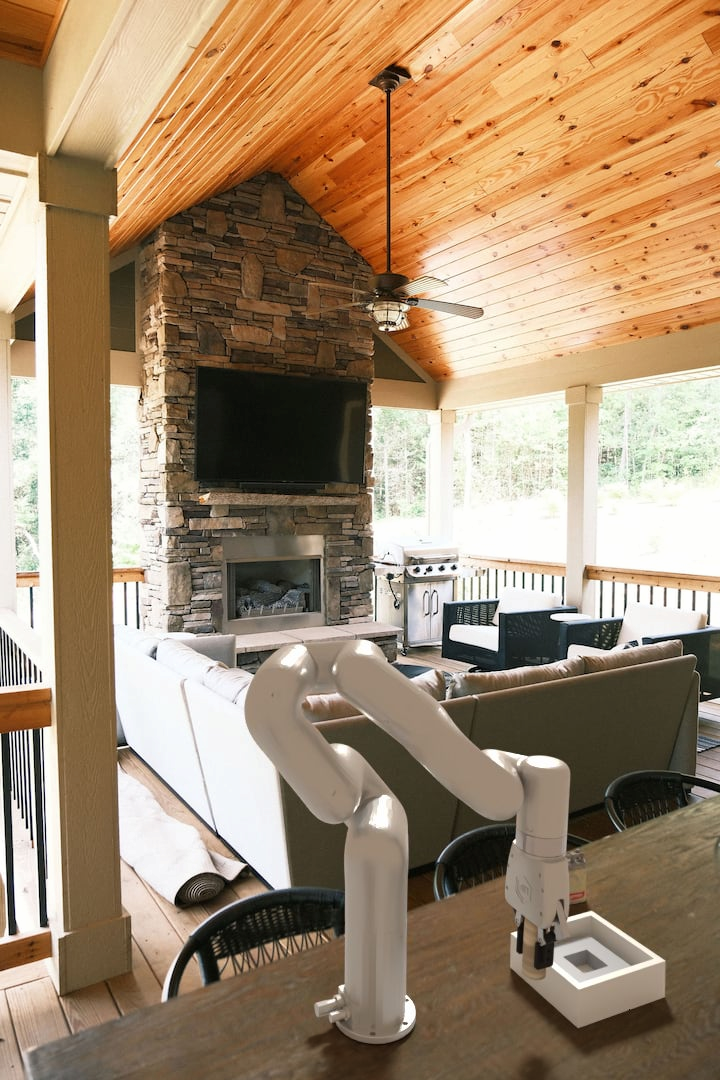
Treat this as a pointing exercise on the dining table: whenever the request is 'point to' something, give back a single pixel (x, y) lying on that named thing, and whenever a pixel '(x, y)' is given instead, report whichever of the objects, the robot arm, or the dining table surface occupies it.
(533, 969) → the peg
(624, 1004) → the box
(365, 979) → the robot arm
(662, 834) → the dining table surface
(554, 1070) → the dining table surface
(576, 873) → the lighter
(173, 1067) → the dining table surface
